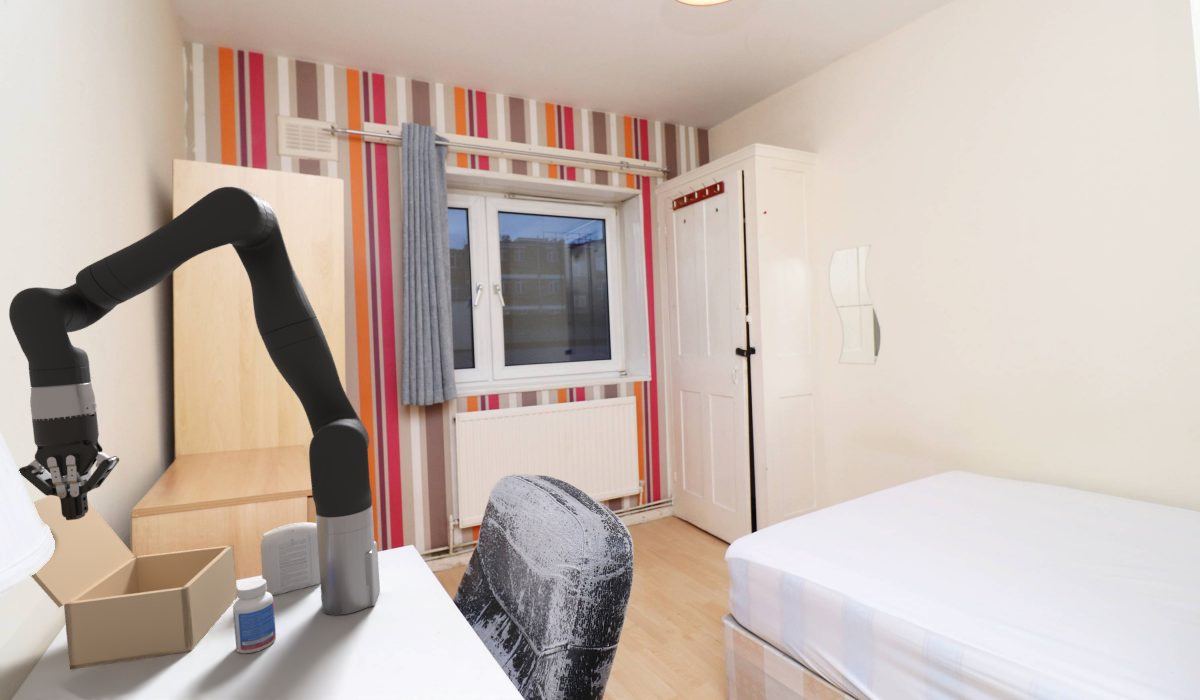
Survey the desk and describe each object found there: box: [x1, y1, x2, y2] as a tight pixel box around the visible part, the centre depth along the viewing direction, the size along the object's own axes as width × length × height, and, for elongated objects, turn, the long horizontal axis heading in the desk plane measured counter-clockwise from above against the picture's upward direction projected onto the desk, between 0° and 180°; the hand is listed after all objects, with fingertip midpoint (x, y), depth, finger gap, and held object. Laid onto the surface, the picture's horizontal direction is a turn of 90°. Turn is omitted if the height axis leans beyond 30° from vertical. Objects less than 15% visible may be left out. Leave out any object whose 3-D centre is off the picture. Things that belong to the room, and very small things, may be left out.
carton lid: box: [30, 495, 135, 608], centre depth 90 cm, size 16×18×6 cm
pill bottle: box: [232, 578, 277, 654], centre depth 88 cm, size 6×5×10 cm
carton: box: [63, 544, 238, 670], centre depth 94 cm, size 16×18×10 cm
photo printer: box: [260, 521, 321, 596], centre depth 108 cm, size 10×4×12 cm, turn 123°
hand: (76, 518), depth 91 cm, fingers closed
